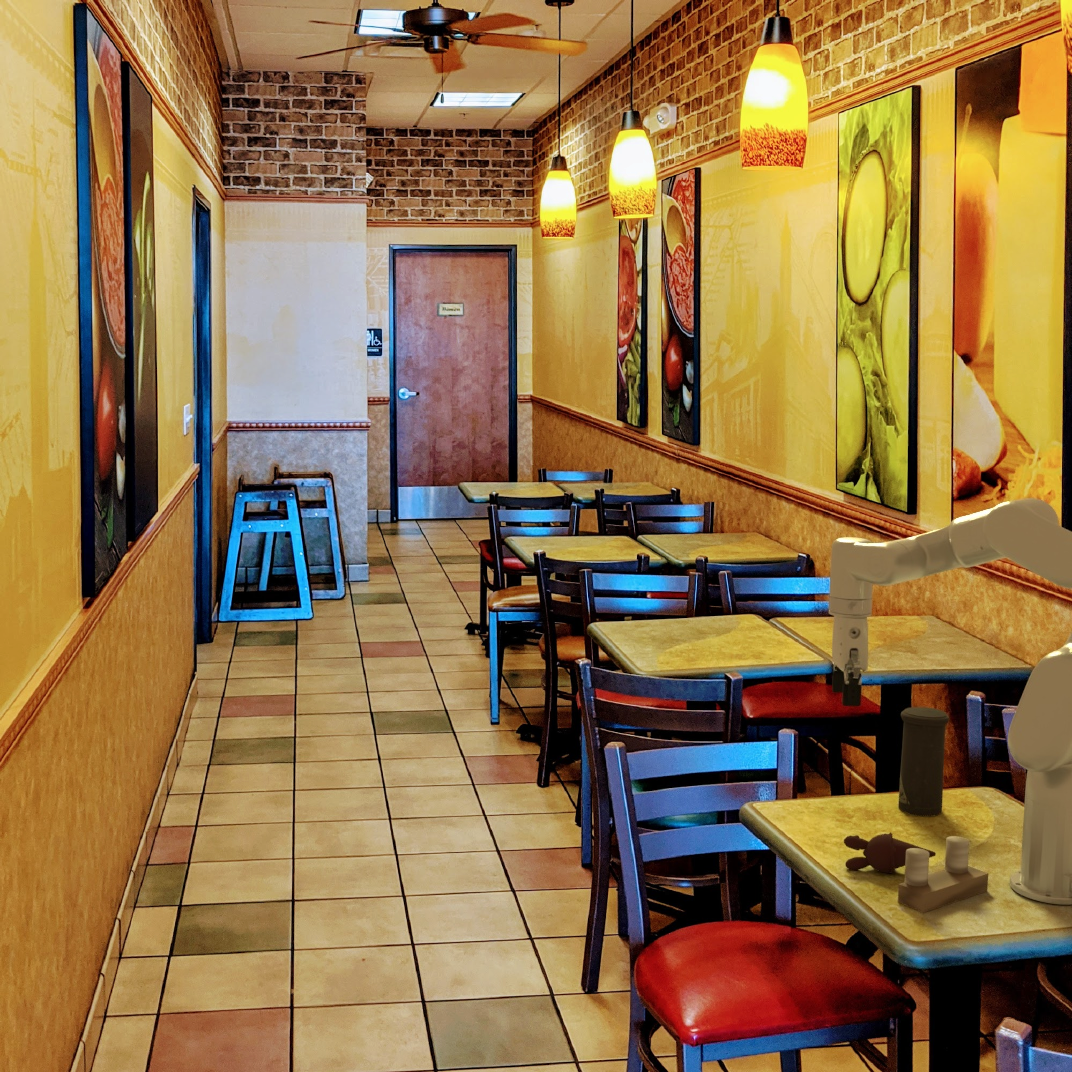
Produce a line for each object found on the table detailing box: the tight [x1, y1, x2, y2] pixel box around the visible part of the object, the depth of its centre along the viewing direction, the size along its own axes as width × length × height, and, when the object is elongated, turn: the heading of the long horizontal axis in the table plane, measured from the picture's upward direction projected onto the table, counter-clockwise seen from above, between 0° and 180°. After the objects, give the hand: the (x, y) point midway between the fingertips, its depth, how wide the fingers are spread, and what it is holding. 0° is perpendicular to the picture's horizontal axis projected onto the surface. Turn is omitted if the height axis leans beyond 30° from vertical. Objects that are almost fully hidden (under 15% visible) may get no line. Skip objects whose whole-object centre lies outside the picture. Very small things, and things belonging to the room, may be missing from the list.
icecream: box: [843, 832, 937, 875], centre depth 221 cm, size 7×7×15 cm
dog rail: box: [897, 835, 989, 914], centre depth 211 cm, size 6×16×8 cm, turn 124°
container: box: [897, 706, 950, 817], centre depth 252 cm, size 9×9×20 cm
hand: (846, 698), depth 237 cm, fingers open, 9 cm apart
